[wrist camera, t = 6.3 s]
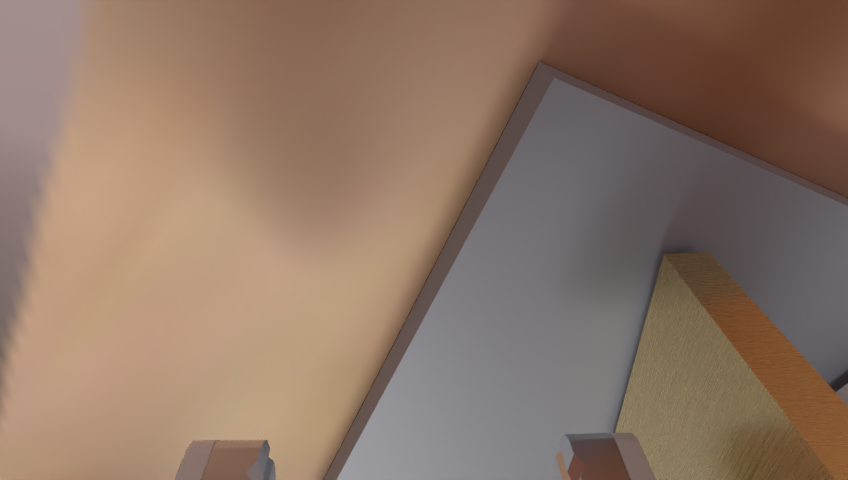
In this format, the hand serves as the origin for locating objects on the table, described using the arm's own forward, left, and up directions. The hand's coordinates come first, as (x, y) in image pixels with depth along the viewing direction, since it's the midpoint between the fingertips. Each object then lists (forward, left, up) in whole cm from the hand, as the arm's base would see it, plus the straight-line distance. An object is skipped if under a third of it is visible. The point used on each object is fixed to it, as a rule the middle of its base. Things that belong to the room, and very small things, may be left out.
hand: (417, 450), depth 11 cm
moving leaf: (-7, -1, -2) cm, 7 cm away
